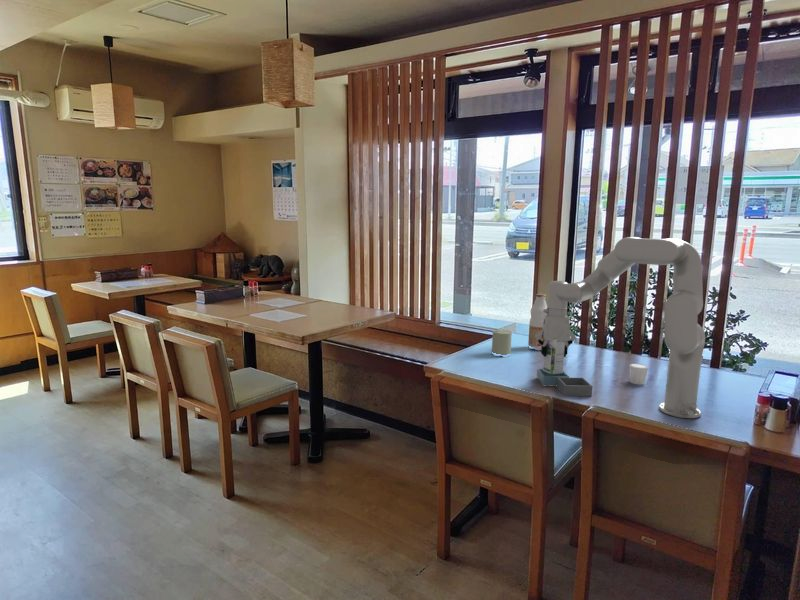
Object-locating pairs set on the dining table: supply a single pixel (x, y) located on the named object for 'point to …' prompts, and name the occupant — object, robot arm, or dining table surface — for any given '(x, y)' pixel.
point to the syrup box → (554, 357)
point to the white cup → (638, 373)
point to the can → (501, 342)
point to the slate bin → (549, 377)
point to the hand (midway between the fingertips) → (553, 355)
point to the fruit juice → (537, 320)
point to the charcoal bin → (574, 386)
